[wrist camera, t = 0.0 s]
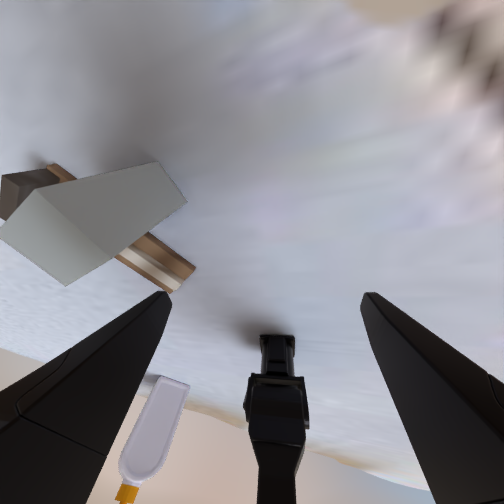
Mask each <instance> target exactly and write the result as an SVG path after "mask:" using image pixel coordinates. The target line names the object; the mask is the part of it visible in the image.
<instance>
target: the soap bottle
mask: <svg viewBox="0 0 504 504" xmlns="http://www.w3.org/2000/svg"><path fill="white" fill-rule="evenodd" d="M189 390H190V386H189V385H186V384H183V383H180V382H178V381H175V380H172V379H169V378H166V377H164V376H160V377H159V378H158V380H157V382H156V383H155V385H154V387H153V389H152V391H151V393H150V395H149V397H148V399H147V401H146V403H145V405H144V407H143V409H142V411H141V413H140V415H139V417H138V419H137V421H136V423H135V425H134V428H133V430H132V432H131V434H130V436H129V438H128V440H127V442H126V444H125V446H124V448H123V450H122V452H121V455H120V458H119V463H118V464H119V473H120V474H121V476H122V478H123V481H122V484H121V487H120V489H119V491H118V493H117V496H116V498H115V500H117V501H120V504H127V503H132V504H133V503H134V500H135V497H136V495H137V492H138V490H139V487H140V486H141V483H142V482H143V481H145V480H147V479H150V478H152V477H153V476H154V475H155V474H156V473H157V472H158V471H159V470H160V469H161V467H162V466H163V464H164V462H165V460H166V457H167V454H168V451H169V448H170V445H171V442H172V439H173V437H174V434H175V431H176V427H177V425H178V422H179V419H180V416H181V413H182V410H183V407H184V404H185V402H186V399H187V396H188V393H189Z"/></svg>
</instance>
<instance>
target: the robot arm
mask: <svg viewBox="0 0 504 504" xmlns="http://www.w3.org/2000/svg"><path fill="white" fill-rule="evenodd" d="M171 308H172V302H171V300H170V298H169V295H168V293H167V292H166V291H157V292H155V293H154V294H152V295H151V296H149V297H147V298H146V299H144V300H143V301H141V302H140V303H138V304H137V305H135V306H134V307H132V308H131V309H129V310H128V311H126V312H125V313H123V314H122V315H120V316H119V317H117V318H115V319H114V320H112V321H111V322H109V323H108V324H106V325H105V326H103V327H102V328H100V329H99V330H97V331H96V332H94V333H93V334H91V335H90V336H88V337H86V338H85V339H83V340H82V341H80V342H79V343H77V344H76V345H74V346H73V347H72V348H70V349H68V350H67V351H65V352H64V353H62V354H61V355H59V356H57V357H56V358H54V359H53V360H51V361H50V362H48V363H46V364H45V365H43V366H42V367H40V368H38V369H37V370H35V371H34V372H32V373H30V374H29V375H27V376H25V377H24V378H22V379H20V380H19V381H17V382H15V383H14V384H12V385H10V386H9V387H7V388H5V389H4V390H2V391H0V504H86V502H87V500H88V498H89V495H90V493H91V491H92V489H93V486H94V484H95V482H96V480H97V478H98V475H99V473H100V471H101V469H102V467H103V465H104V462H105V460H106V458H107V455H108V453H109V451H110V449H111V446H112V444H113V442H114V440H115V438H116V436H117V434H118V432H119V429H120V427H121V425H122V423H123V421H124V418H125V416H126V414H127V412H128V410H129V407H130V405H131V403H132V401H133V399H134V396H135V394H136V392H137V390H138V388H139V385H140V383H141V381H142V379H143V377H144V374H145V372H146V370H147V368H148V366H149V364H150V361H151V359H152V357H153V355H154V353H155V350H156V348H157V346H158V344H159V342H160V339H161V337H162V334H163V332H164V329H165V326H166V323H167V320H168V317H169V314H170V311H171ZM360 310H361V314H362V318H363V321H364V324H365V328H366V331H367V335H368V338H369V341H370V345H371V348H372V350H373V353H374V355H375V358H376V360H377V363H378V365H379V367H380V370H381V372H382V375H383V377H384V379H385V382H386V384H387V387H388V389H389V391H390V394H391V396H392V399H393V401H394V404H395V406H396V408H397V411H398V413H399V416H400V418H401V420H402V423H403V425H404V428H405V430H406V432H407V435H408V437H409V440H410V442H411V445H412V447H413V449H414V452H415V454H416V457H417V459H418V461H419V464H420V466H421V469H422V471H423V473H424V476H425V478H426V481H427V483H428V486H429V488H430V490H431V492H432V495H433V498H434V500H435V502H436V504H504V383H502V382H501V381H499V380H498V379H497V378H495V377H494V376H492V375H491V374H488V373H487V371H485V370H484V369H482V368H481V367H480V366H478V365H477V364H476V363H474V362H473V361H471V360H470V359H469V358H467V357H466V356H464V355H463V354H462V353H460V352H459V351H457V350H456V349H455V348H453V347H452V346H450V345H449V344H448V343H446V342H445V341H443V340H442V339H441V338H439V337H438V336H436V335H435V334H434V333H432V332H431V331H430V330H428V329H427V328H425V327H424V326H423V325H421V324H420V323H418V322H417V321H416V320H414V319H413V318H411V317H410V316H409V315H407V314H406V313H404V312H403V311H402V310H400V309H399V308H397V307H396V306H395V305H393V304H392V303H390V302H389V301H388V300H386V299H385V298H384V297H382V296H381V295H379V294H378V293H376V292H366V293H364V295H363V299H362V302H361V305H360ZM259 339H260V346H261V353H262V363H261V374H255V373H251V377H249V379H248V387H247V392H246V395H245V399H244V403H243V408H244V410H245V414H246V422H249V428H248V432H249V435H250V439H251V443H252V446H253V449H254V453H255V456H256V459H257V462H258V466H259V474H258V491H257V504H296V489H295V476H296V473H297V470H298V468H299V465H300V462H301V459H302V457H303V454H304V449H305V441H306V433H305V429H309V411H308V402H307V395H306V389H305V382H304V377H303V376H300V377H295V376H294V362H293V358H294V355H295V337H293V336H270V335H260V338H259Z"/></svg>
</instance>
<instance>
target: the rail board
mask: <svg viewBox="0 0 504 504" xmlns="http://www.w3.org/2000/svg"><path fill="white" fill-rule="evenodd" d="M72 180H77V179H76V178H75V177H74V176H72V175H71V174H69V173H68V172H67V171H65V170H64V169H63V168H61V167H60V166H59V165H57V164H51V165H47V168H46V169H39V170H32V171H25V172H19V173H12V174H5V175H2V178H1V190H0V218H2V219H3V220H5V221H7V219H8V218H9V217H10V216H11V215H12V214H13V213H14V212H15V210H16V209H17V208H18V207H19V206H20V205H21V204H22V203H23V201H24V200H25V199H26V198H27V197H28V196H29V195H30V194H31V193H32V191H33V190H34V189H37V188H41V187H46V186H50V185H55V184H59V183H64V182H68V181H72ZM114 258H116V259H117V260H119V261H121V262H122V263H124V264H125V265H127V266H128V267H130V268H131V269H133V270H134V271H136V272H137V273H139V274H140V275H142V276H143V277H145V278H147V279H148V280H150V281H151V282H153V283H154V284H156V285H157V286H159V287H160V288H162V289H163V290H165V291H166V292H168V293H169V294H170V293H172V292H173V291H176V290H177V289H178V288H179V287H180V286H181V285H182V283H183V282H184V280H185V279H186V278H187V277H188V276H190V275H191V274H192V273H193V272H194V270H195V268H196V267H195V266H193V265H192V264H191V263H189V262H188V261H186V260H185V259H184V258H182V257H181V256H180V255H178V254H177V253H176V252H174V251H173V250H172V249H170V248H169V247H168V246H166V245H165V244H164V243H162V242H161V241H160V240H158V239H157V238H156V237H154V236H153V235H152V234H150V233H149V232H147V233H145V234H144V235H143V236H141V237H140V238H139V239H137V240H136V241H135V242H133V243H132V244H131V245H129V246H128V247H127V248H125V249H124V250H123V251H121V252H120V253H119V254H118V255H116V256H115V257H114Z"/></svg>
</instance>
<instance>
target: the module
mask: <svg viewBox="0 0 504 504" xmlns="http://www.w3.org/2000/svg"><path fill="white" fill-rule="evenodd" d="M185 203H187V200H186V199H185V197H184V196H183V195H182V193H181V192H180V191H179V189H178V188H177V187H176V185H175V184H174V183H173V181H172V180H171V179H170V177H169V176H168V174H167V173H166V172H165V170H164V169H163V168H162V166H161V165H160V164H159V162H158V161H157V162H152V163H148V164H143V165H139V166H135V167H130V168H126V169H121V170H117V171H112V172H108V173H104V174H99V175H95V176H90V177H86V178H81V179H77V180H72V181H68V182H64V183H59V184H55V185H50V186H46V187H41V188H37V189H34V190H33V191H32V193H31V194H30V195H29V196H28V197H27V198H26V199H25V200H24V201H23V203H22V204H21V205H20V206H19V207H18V208H17V209H16V210H15V212H14V213H13V214H12V215H11V216H10V217H9V218H8V219H7V221H6V222H5V223H4V224H3V225H2V226H1V227H0V239H1V240H3V241H4V242H5V243H7V244H8V245H9V246H11V247H12V248H14V249H15V250H16V251H18V252H19V253H20V254H22V255H23V256H24V257H26V258H27V259H29V260H30V261H31V262H33V263H34V264H35V265H37V266H38V267H39V268H41V269H42V270H44V271H45V272H46V273H48V274H49V275H50V276H52V277H53V278H55V279H56V280H57V281H59V282H60V283H61V284H63V285H64V286H65V287H66V286H68V285H69V284H71V283H73V282H74V281H76V280H77V279H79V278H81V277H82V276H84V275H86V274H87V273H89V272H91V271H92V270H94V269H96V268H97V267H99V266H101V265H102V264H104V263H106V262H107V261H109V260H111V259H112V258H114V257H115V256H116V255H118V254H119V253H120V252H121V251H123V250H124V249H125V248H127V247H128V246H129V245H131V244H132V243H133V242H135V241H136V240H137V239H139V238H140V237H141V236H143V235H144V234H145V233H147V232H148V231H149V230H151V229H152V228H153V227H155V226H156V225H157V224H159V223H160V222H161V221H163V220H164V219H165V218H167V217H168V216H169V215H171V214H172V213H173V212H175V211H176V210H177V209H179V208H180V207H181V206H183V205H184V204H185Z"/></svg>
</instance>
